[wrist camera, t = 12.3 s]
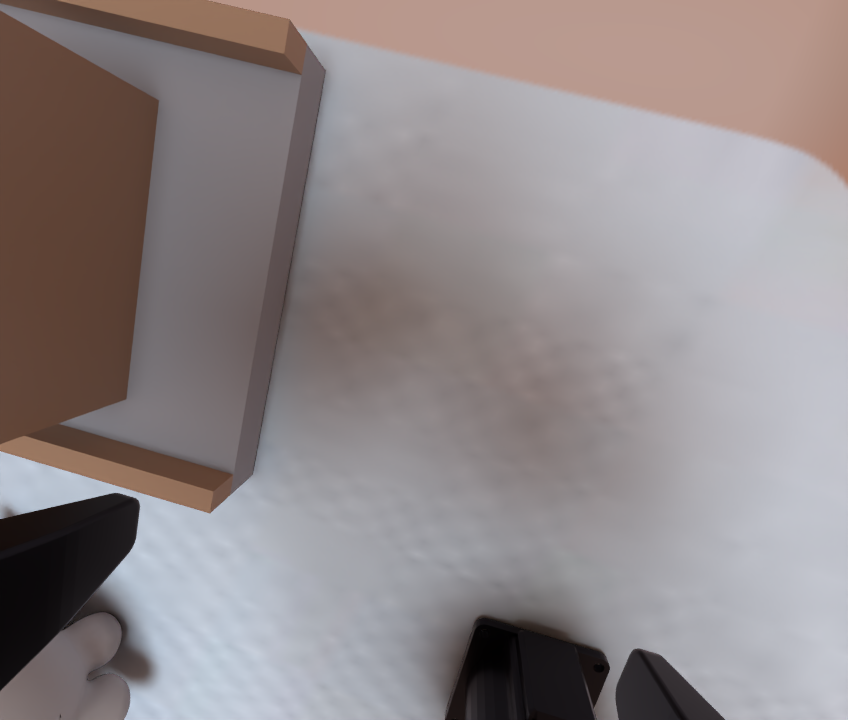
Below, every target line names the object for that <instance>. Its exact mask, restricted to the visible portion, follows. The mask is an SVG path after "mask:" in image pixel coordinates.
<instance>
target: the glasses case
mask: <svg viewBox="0 0 848 720" xmlns="http://www.w3.org/2000/svg"><path fill="white" fill-rule="evenodd" d="M158 105H159V100H157V99H156V98H154V97H152V96H150V95H148V94H147V93H145V92H143V91H141V90H140V89H138V88H136V87H134V86H133V85H131V84H129V83H127V82H126V81H124V80H122V79H120V78H118V77H117V76H115V75H113V74H111V73H110V72H108V71H106V70H104V69H103V68H101V67H99V66H97V65H96V64H94V63H92V62H90V61H89V60H87V59H85V58H83V57H81V56H80V55H78V54H76V53H74V52H73V51H71V50H69V49H67V48H66V47H64V46H62V45H60V44H59V43H57V42H55V41H53V40H51V39H50V38H48V37H46V36H44V35H43V34H41V33H39V32H37V31H36V30H34V29H32V28H30V27H29V26H27V25H25V24H23V23H21V22H20V21H18V20H16V19H14V18H13V17H11V16H9V15H7V14H6V13H4V12H2V11H0V444H2V443H5V442H8V441H11V440H14V439H16V438H19V437H22V436H25V435H28V434H30V433H33V432H36V431H39V430H42V429H44V428H47V427H50V426H53V425H56V424H58V423H61V422H64V421H67V420H70V419H73V418H75V417H78V416H81V415H84V414H87V413H89V412H92V411H95V410H98V409H101V408H103V407H106V406H109V405H112V404H115V403H117V402H120V401H123V400H126V399H127V390H128V380H129V371H130V362H131V353H132V344H133V335H134V325H135V316H136V307H137V298H138V289H139V280H140V270H141V261H142V252H143V243H144V234H145V225H146V215H147V206H148V197H149V188H150V179H151V170H152V160H153V151H154V142H155V133H156V124H157V115H158Z"/></svg>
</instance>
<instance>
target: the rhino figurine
mask: <svg viewBox="0 0 848 720" xmlns="http://www.w3.org/2000/svg"><path fill="white" fill-rule="evenodd" d="M121 637H122V630H121V626H120V624H119V622H118V621H117V619H116V618H115V617H114V616H112V615H111V614H109V613H106V612H99V613H95V614H91V615H89V616H86V617H84V618H82V619H80V620H79V621H77V622H75V623H74V624H72V625H71V626H69V627H68V628H66V629H65V630H61V631H60V632H59V634H58V635H57V636H56V637H55V638H54V639H53V640H52V641H51V642H50V643H49V644H48V645H47V646H46V647H45V648H44V649H43V650H42V651H41V652H40V653H39V654H38V655H37V656H36V657H35V658H34V659H33V660H32V661H31V662H30V663H29V664H28V665H27V666H26V667H25V668H24V669H22V670H21V671H20V672H19V673H18V674H17V675H16V676H15V677H14V678H13V679H12V680H11V681H10V682H9V683H8V684H7V685H6V686H5V687H4V688H3V689H2V690H1V691H0V720H124V718H125V717H126V715H127V712H128V709H129V705H130V690H129V687H128V685H127V683H126V682H125V681H124V680H123V679H122V678H121V677H120V676H118V675H115V674H111V673H108V674H104V675H101V676H99V677H97V678H95V679H93V680H91V681H87V677H88V674H89V673H90V672H91V671H93V670H95V669H98V668H100V667H101V666H103V665H105V664H106V663H107V662H109V661H110V660H111V659H112V658H113V656H114V655H115V654H116V652H117V650H118V648H119V645H120V642H121Z"/></svg>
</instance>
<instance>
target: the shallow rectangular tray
mask: <svg viewBox="0 0 848 720" xmlns="http://www.w3.org/2000/svg"><path fill="white" fill-rule="evenodd" d="M0 11H2V12H4V13H6V14H7V15H9V16H11V17H13V18H14V19H16V20H18V21H20V22H21V23H23V24H25V25H27V26H29V27H30V28H32V29H34V30H36V31H37V32H39V33H41V34H43V35H44V36H46V37H48V38H50V39H51V40H53V41H55V42H57V43H59V44H60V45H62V46H64V47H66V48H67V49H69V50H71V51H73V52H74V53H76V54H78V55H80V56H81V57H83V58H85V59H87V60H89V61H90V62H92V63H94V64H96V65H97V66H99V67H101V68H103V69H104V70H106V71H108V72H110V73H111V74H113V75H115V76H117V77H118V78H120V79H122V80H124V81H126V82H127V83H129V84H131V85H133V86H134V87H136V88H138V89H140V90H141V91H143V92H145V93H147V94H148V95H150V96H152V97H154V98H156V99H157V100H159V105H158V115H157V124H156V133H155V142H154V151H153V160H152V170H151V179H150V188H149V197H148V206H147V215H146V225H145V234H144V243H143V252H142V261H141V270H140V280H139V289H138V298H137V307H136V316H135V325H134V335H133V344H132V353H131V362H130V371H129V380H128V390H127V399H126V400H123V401H120V402H117V403H115V404H112V405H109V406H106V407H103V408H101V409H98V410H95V411H92V412H89V413H87V414H84V415H81V416H78V417H75V418H73V419H70V420H67V421H64V422H61V423H58V424H56V425H53V426H50V427H47V428H44V429H42V430H39V431H36V432H33V433H30V434H28V435H25V436H22V437H19V438H16V439H14V440H11V441H8V442H5V443H2V444H0V451H2V452H5V453H9V454H12V455H15V456H19V457H22V458H25V459H29V460H32V461H35V462H39V463H42V464H46V465H49V466H52V467H56V468H59V469H62V470H66V471H69V472H72V473H76V474H79V475H83V476H86V477H89V478H93V479H96V480H99V481H103V482H106V483H110V484H113V485H116V486H120V487H123V488H126V489H130V490H133V491H136V492H140V493H143V494H147V495H150V496H153V497H157V498H160V499H163V500H167V501H170V502H173V503H177V504H180V505H184V506H187V507H190V508H194V509H197V510H200V511H204V512H207V513H211V512H212V511H213V510H214V509H215V508H216V507H217V506H219V505H220V504H221V503H222V502H223V501H224V500H225V499H226V498H227V497H228V496H230V495H231V494H232V493H233V492H234V491H235V490H236V489H237V488H238V487H239V486H241V485H242V484H243V483H244V482H245V481H246V480H247V479H248V478H249V477H250V476H252V474H253V469H254V463H255V458H256V452H257V447H258V441H259V436H260V430H261V425H262V419H263V413H264V408H265V402H266V397H267V391H268V386H269V380H270V375H271V369H272V364H273V358H274V353H275V347H276V342H277V336H278V331H279V325H280V320H281V314H282V308H283V303H284V297H285V292H286V286H287V281H288V275H289V270H290V264H291V259H292V253H293V248H294V242H295V237H296V231H297V226H298V220H299V215H300V209H301V203H302V198H303V192H304V187H305V181H306V176H307V170H308V165H309V159H310V154H311V148H312V143H313V137H314V132H315V126H316V121H317V115H318V110H319V104H320V98H321V93H322V87H323V82H324V76H325V69H324V68H323V66H322V65H321V63H320V62H319V61H318V59H317V58H316V56H315V55H314V53H313V52H312V51H311V49H310V48H309V46H308V45H307V43H306V42H305V41H304V39H303V38H302V36H301V35H300V33H299V32H298V31H297V29H296V28H295V26H294V25H293V24H292V22H291V21H290V20H289V19H286V18H281V17H277V16H273V15H268V14H264V13H260V12H255V11H251V10H247V9H242V8H238V7H233V6H229V5H225V4H221V3H216V2H212V1H208V0H0Z"/></svg>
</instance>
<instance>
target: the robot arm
mask: <svg viewBox="0 0 848 720" xmlns="http://www.w3.org/2000/svg"><path fill="white" fill-rule="evenodd" d="M139 510H140V504H139V501H138V500H137V499H136V498H133V497H130V496H126V495H123V494H119V493H113V494H108V495H104V496H99V497H95V498H91V499H86V500H82V501H78V502H73V503H69V504H64V505H60V506H56V507H51V508H47V509H43V510H38V511H34V512H30V513H25V514H21V515H17V516H12V517H8V518H3V519H0V691H1V690H2V689H3V688H4V687H5V686H6V685H7V684H8V683H9V682H10V681H11V680H12V679H13V678H14V677H15V676H16V675H17V674H18V673H19V672H20V671H21V670H22V669H24V668H25V667H26V666H27V665H28V664H29V663H30V662H31V661H32V660H33V659H34V658H35V657H36V656H37V655H38V654H39V653H40V652H41V651H42V650H43V649H44V648H45V647H46V646H47V645H48V644H49V643H50V642H51V641H52V640H53V639H54V638H55V637H56V636H57V635H58V634H59V632H60V631H61V630H62V629H63V628H64V627H65V626H66V625H67V624H68V623H69V621H70V620H71V619H72V618H73V617H74V616H75V615H76V614H77V612H78V611H79V610H80V609H81V608H82V607H83V605H84V604H85V603H86V602H87V601H88V600H89V598H90V597H91V596H92V595H93V594H94V593H95V592H96V590H97V589H98V588H99V587H100V586H101V585H102V583H103V582H104V581H105V580H106V579H107V578H108V576H109V575H110V574H111V573H112V572H113V571H114V570H115V568H116V567H117V566H118V565H119V564H120V563H121V561H122V560H123V559H124V558H125V557H126V556H127V554H128V553H129V552H130V550H131V549H132V547H133V545H134V543H135V540H136V535H137V526H138V518H139ZM482 629H487V630H488V631H482ZM597 663H600V664H599V665H595V664H597ZM609 670H610V666H609V663H608V661H607V658H606V656H605V655H604V654H603V653H601V652H598V651H594V650H591V649H588V648H584V647H581V646H578V645H574V644H571V643H568V642H564V641H561V640H558V639H554V638H551V637H548V636H544V635H541V634H538V633H534V632H531V631H528V630H524V629H521V628H518V627H514V626H511V625H508V624H504V623H501V622H498V621H494V620H491V619H488V618H481V619H478V620H477V621H476V622H475V624H474V627H473V630H472V633H471V636H470V639H469V642H468V645H467V648H466V651H465V654H464V657H463V661H462V664H461V667H460V670H459V673H458V676H457V679H456V682H455V685H454V688H453V691H452V694H451V697H450V700H449V703H448V706H447V709H446V714H445V720H597V719H596V715H595V712H594V707H595V704H596V702H597V699H598V697H599V695H600V692H601V690H602V687H603V685H604V683H605V680H606V678H607V676H608V673H609ZM616 706H617V712H618V718H619V720H725V719H724V718H723V717H722V716H721V715H720V714H719V713H718V712H717V711H716V710H715V709H714V708H713V707H712V706H711V705H710V704H709V703H708V702H707V701H706V700H705V699H704V698H703V697H702V696H701V695H700V694H699V693H698V692H697V691H696V690H695V689H694V688H693V687H692V686H691V685H690V684H689V683H688V682H687V681H686V680H685V679H684V678H683V677H682V676H681V675H680V674H679V673H678V672H677V671H676V670H675V669H674V668H673V667H672V666H671V665H670V664H669V663H668V662H667V661H666V660H665V659H664V658H663V657H662V656H660V655H659V654H656V653H653V652H649V651H646V650H643V649H634V650H633V651H632V652H631V654H630V655H629V658H628V660H627V663H626V665H625V667H624V670H623V672H622V674H621V677H620V679H619V681H618V684H617V687H616Z"/></svg>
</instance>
